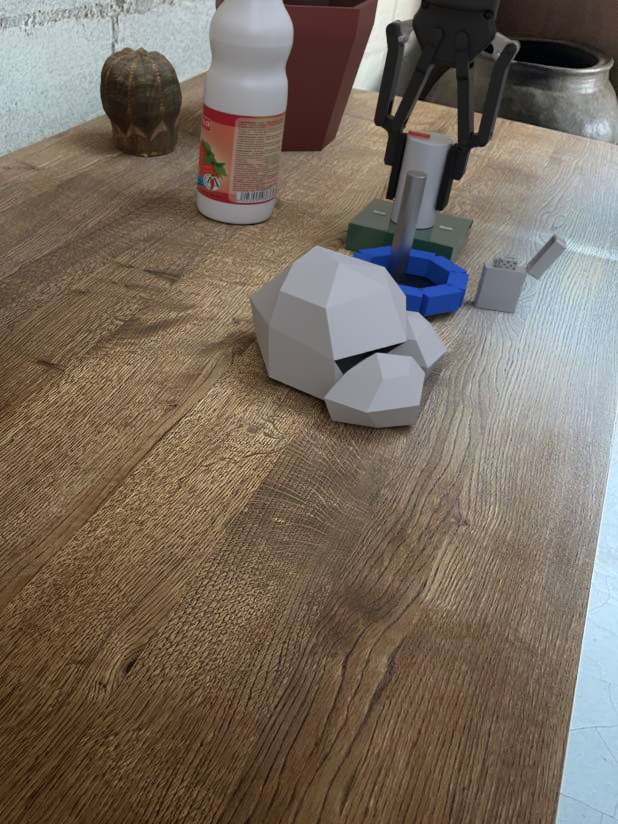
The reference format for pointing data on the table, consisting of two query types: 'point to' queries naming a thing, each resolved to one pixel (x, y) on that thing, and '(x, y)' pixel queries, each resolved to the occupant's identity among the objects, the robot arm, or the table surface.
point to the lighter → (513, 277)
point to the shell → (141, 101)
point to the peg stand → (408, 232)
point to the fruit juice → (244, 110)
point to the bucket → (322, 67)
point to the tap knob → (429, 158)
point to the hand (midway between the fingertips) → (416, 201)
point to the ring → (434, 269)
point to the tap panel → (440, 238)
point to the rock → (346, 338)
